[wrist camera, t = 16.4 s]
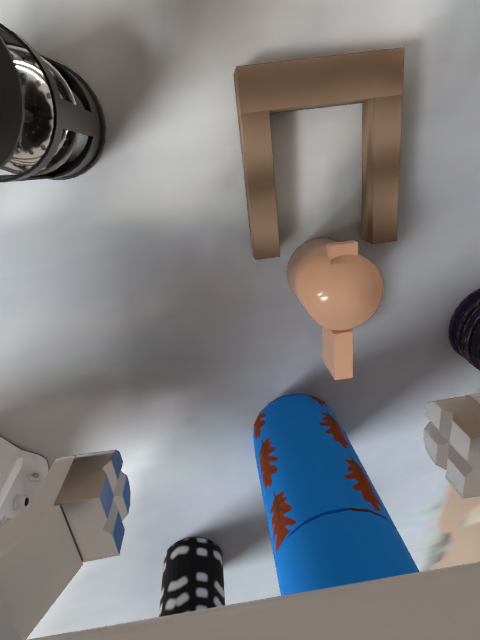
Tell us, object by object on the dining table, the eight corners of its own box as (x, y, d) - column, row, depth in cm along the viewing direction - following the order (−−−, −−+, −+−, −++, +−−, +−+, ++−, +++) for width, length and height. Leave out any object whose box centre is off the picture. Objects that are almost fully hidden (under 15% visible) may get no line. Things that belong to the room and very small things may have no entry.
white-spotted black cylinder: (173, 533, 53) (158, 728, 35) (229, 542, 55) (244, 732, 37) (157, 573, 56) (136, 774, 38) (212, 581, 58) (217, 776, 39)
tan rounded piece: (283, 233, 39) (302, 249, 32) (350, 224, 40) (384, 238, 32) (292, 350, 44) (310, 387, 37) (351, 341, 45) (380, 376, 37)
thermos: (352, 415, 49) (488, 640, 26) (304, 473, 52) (387, 724, 28) (282, 378, 46) (365, 596, 23) (235, 443, 49) (266, 694, 26)
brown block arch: (384, 235, 40) (396, 240, 38) (252, 253, 40) (255, 259, 37) (389, 56, 34) (404, 47, 32) (233, 74, 34) (236, 66, 31)
